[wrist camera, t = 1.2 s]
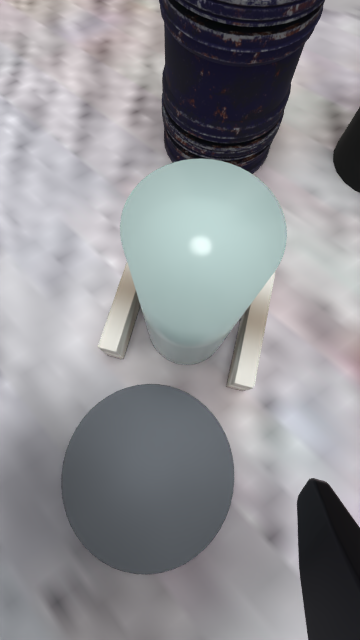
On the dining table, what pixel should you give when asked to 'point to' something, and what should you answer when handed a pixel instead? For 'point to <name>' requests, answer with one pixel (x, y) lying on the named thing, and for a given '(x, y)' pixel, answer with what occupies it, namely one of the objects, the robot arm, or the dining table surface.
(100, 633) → the dining table surface
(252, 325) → the frame
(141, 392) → the grey flat disc
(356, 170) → the wine bottle
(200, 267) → the pale green rounded piece
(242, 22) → the storage jar
